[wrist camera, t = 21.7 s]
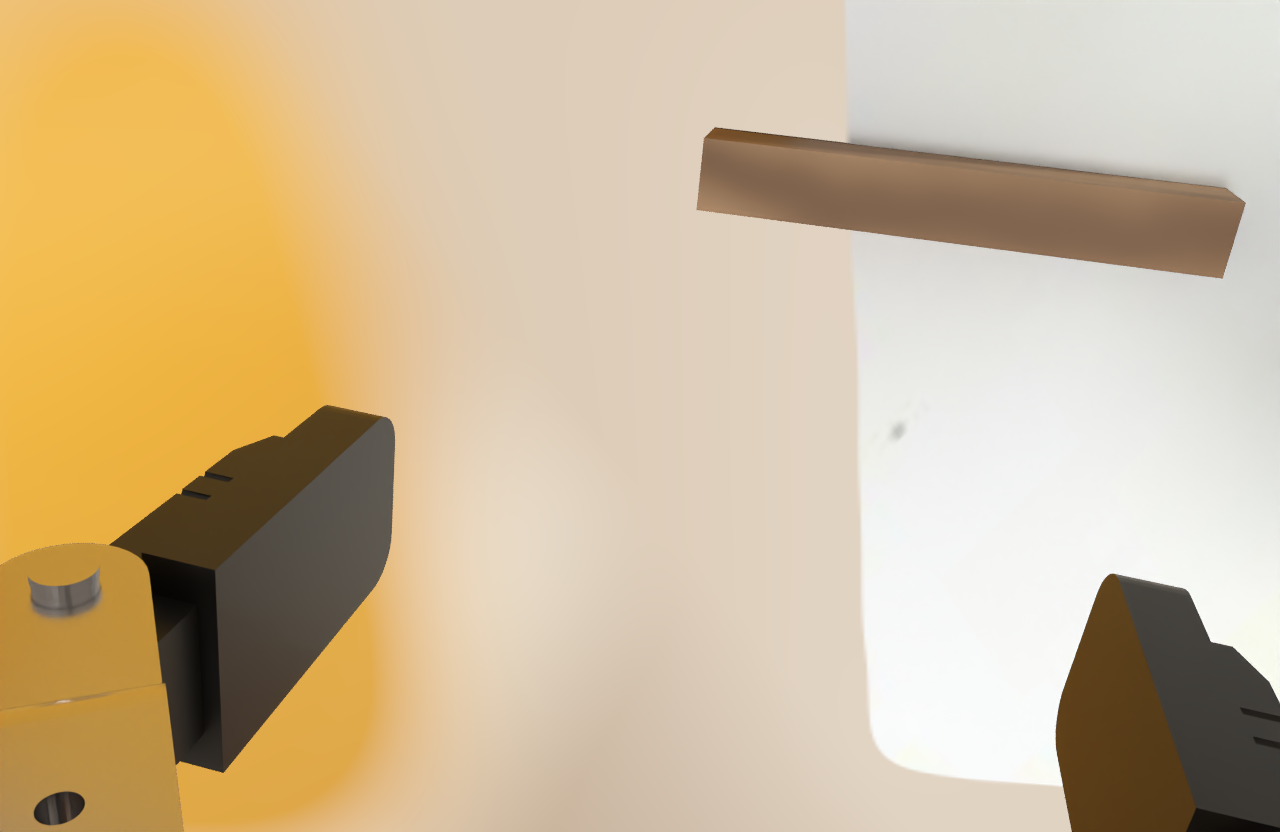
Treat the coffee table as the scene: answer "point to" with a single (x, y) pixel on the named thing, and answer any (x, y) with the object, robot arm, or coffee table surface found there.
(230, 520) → the robot arm
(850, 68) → the coffee table surface
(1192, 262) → the walnut bar
